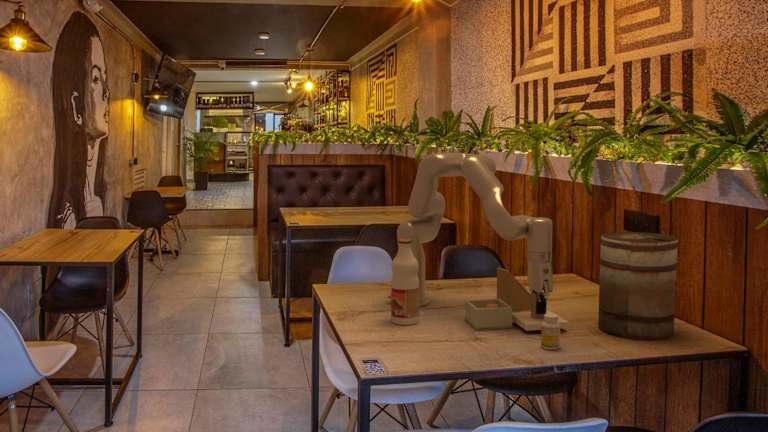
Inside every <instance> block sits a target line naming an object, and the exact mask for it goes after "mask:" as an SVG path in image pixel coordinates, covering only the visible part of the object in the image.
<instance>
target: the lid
mask: <svg viewBox="0 0 768 432" xmlns="http://www.w3.org/2000/svg"><path fill="white" fill-rule="evenodd" d="M530 294H531V310H530V311H518V312H512V322H513V323H515V324H517V326H519V327H520V328H522V329H524V330H525V331H526V332H527V331H541V326H542V322H543V321H545V320H544V315H545V314H537V313H536V302H538V297H537V292H530ZM541 295H543V294H540V296H541ZM546 314H555V313H554V312H552V311H550V310H546ZM557 322H559V324H560V330H561V329H569V321H567V320H566V319H564V318H562V317H561V316H559V315H558V321H557Z"/></svg>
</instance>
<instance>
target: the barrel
mask: <svg viewBox="0 0 768 432" xmlns="http://www.w3.org/2000/svg"><path fill="white" fill-rule="evenodd" d="M678 243H679V238H678V237H676V236H673V235H670V234H661V233H655V232H640V231H639V232H636V231H617V232H606V233H603V234H601V235H600V255H599V257H600V259H599V263H600V264H599V287H598V288H599V290H598V294H599V295H598V317H597V318H598V320H597V321H598V323H597V326H598V330H600V331H601V332H602V333H604V334H606V335H609V336H613V337H615V338H620V339H623V340H624V339H625V340H633V341H644V342H645V341H646V342H650V341H651V342H653V341H654V342H655V341H663V340H668V339H670V338H672V337H674V333H675V331H674V330H675V311H676V310H675V309H676V292H677V291H676V289H677V268H678V267H677V266H678V265H677V264H678V247H679V246H678Z"/></svg>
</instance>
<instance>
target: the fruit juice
mask: <svg viewBox="0 0 768 432" xmlns="http://www.w3.org/2000/svg"><path fill="white" fill-rule="evenodd" d="M411 245H412V239H397V246H398V248H397V253H396V255H395V257H394V258H393V260H392V261H391V271H392V277H391V279H390V293H391V298H390V310H391V311H390V313H391V314H390V316H391V317H390V320H391V323H393V324H395V325H398V326H411V325H416V324H418V323H419V320H420V306H419V279H418V276H417V272H418V268H419V265H418V261H417V260H416V258H415V257H414V255H413V253H412V249H411Z"/></svg>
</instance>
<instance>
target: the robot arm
mask: <svg viewBox="0 0 768 432" xmlns="http://www.w3.org/2000/svg"><path fill="white" fill-rule="evenodd" d="M496 171H497V166H496V162H495V160H493V158H492V157H491V156H489V155H485V154H473V153H464V152H437V153H435V152H434V153H430V154H427V155H426V156H424V157H423V158H422V159H421V160H420V162H419V164H418V168H417V173H416V177H415V180H414V184H413V186H412V187H413V188H412V191H411V193H410V197H409V201H408V206H407V210H408V213H409V215H410V216H411V217H412V219H407V220H406V219H405V220H404V221H402V222H401V223H400V224H399V225H398V226H397V229H396V237H397V240H398V239H412V245H411V249H412V253H413V255H414V257H415V258H416V260H417V261H418V265H419V268H418V272H417V276H418V279H419V307H424V306H427V305H429V304H430V299H428V298H427V297H426V255H425V251H424V248H423V245H422V244H425V243H429V242H432V241H433V240H435V238H436V237H437V236H438V234H439V230H440V228H441V225H442V221H443V218H444V215H445V211H446V200H445V197H444V196H443V194H442V193H441V192H439V191H438V188H439V178H448V177H449V178H450V177H452V178H453V177H463V178H464V179H465V181H467V183H468V184H469V186H470V187H471V188H472V190H473V191H474V192H475V194H476V195H477V196H478V198H479V199H480V201H481V202H482V205H483V212H484V214H485V216H486V219H487V221H488V222H489V225H490V226H491V227H492V228H493V229H494V231H495V232H496V234H498V235H499V237H501V238H502V239H503V240H504V241H505V240H506V241H512V242H513V241H515V240H516V241H517V240H521V239H525V238H526V239H527V262H528V264H527V276H526V277H527V287H528V288H529V291H530V292H529V293H531V292H537V297H538V302H536V313H537V314H546V311H547V302H548V298H549V297H550V294H551V293H552V292H553V291H554V290H553V289H554V279H553V278H554V275H553V267H552V261H553V260H552V256H553V254H552V253H553V251H552V250H553V221H552V219H550V218H548V217H535V216H534V217H533V216H530V215H526V214H525V215H523V214H522V215H521V214H519V215H513V216H512V215H511V214H510V213H509V212H508V210H507V209H506V208H505V205H504V204H503V202H502V194H503V193H504V188H505V187H504V185H503V184H502V183H501V182H500V180H499V179H498V178H497V177H496V175H495V174H496ZM540 294H543V295H541V296H540ZM386 298H387V299H388V300H389V299H391V292H388V293H387V294H386Z"/></svg>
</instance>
